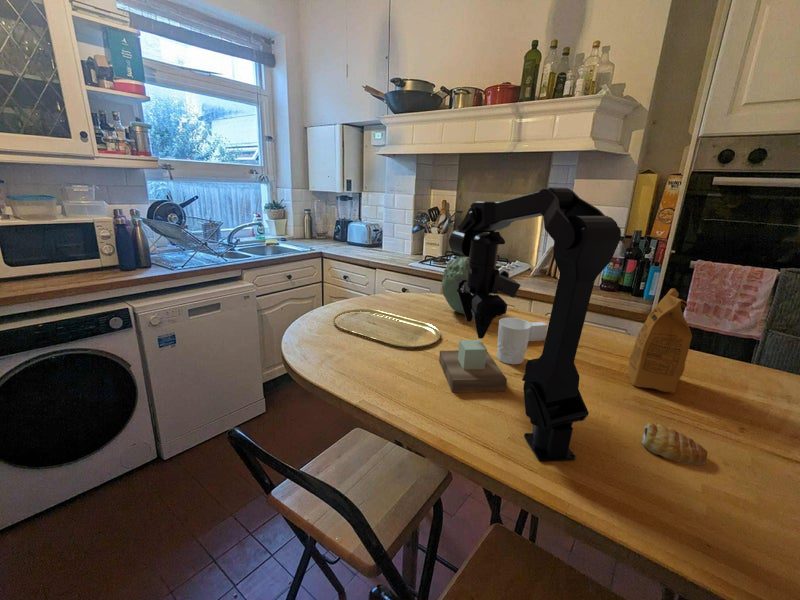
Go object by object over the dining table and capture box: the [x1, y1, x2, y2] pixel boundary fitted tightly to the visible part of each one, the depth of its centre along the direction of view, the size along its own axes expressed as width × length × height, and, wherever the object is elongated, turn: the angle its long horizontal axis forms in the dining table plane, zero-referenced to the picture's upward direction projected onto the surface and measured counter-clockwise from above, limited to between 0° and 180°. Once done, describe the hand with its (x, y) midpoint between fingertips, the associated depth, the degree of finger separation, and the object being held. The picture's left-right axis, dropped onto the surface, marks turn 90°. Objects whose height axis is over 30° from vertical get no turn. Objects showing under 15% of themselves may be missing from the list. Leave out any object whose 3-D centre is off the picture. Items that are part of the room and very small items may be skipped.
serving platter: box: [333, 308, 441, 350], centre depth 112 cm, size 19×35×2 cm, turn 58°
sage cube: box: [458, 339, 488, 370], centre depth 86 cm, size 5×5×5 cm
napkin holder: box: [528, 321, 549, 342], centre depth 108 cm, size 15×11×6 cm
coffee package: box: [627, 288, 693, 394], centre depth 85 cm, size 10×12×22 cm
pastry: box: [641, 421, 708, 466], centre depth 65 cm, size 9×7×4 cm
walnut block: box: [438, 349, 508, 393], centre depth 87 cm, size 14×12×3 cm
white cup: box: [496, 317, 532, 366], centre depth 95 cm, size 8×8×10 cm
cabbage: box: [441, 256, 492, 315], centre depth 125 cm, size 16×19×20 cm
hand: (474, 329), depth 84 cm, fingers open, 9 cm apart
